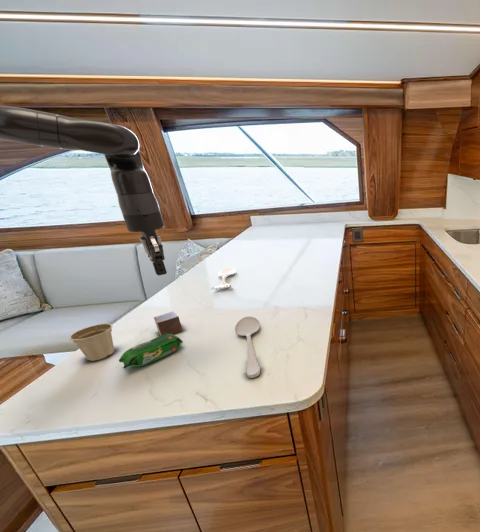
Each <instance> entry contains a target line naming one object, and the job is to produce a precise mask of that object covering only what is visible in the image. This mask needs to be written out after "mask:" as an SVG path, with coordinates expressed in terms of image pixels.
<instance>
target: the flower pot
mask: <svg viewBox="0 0 480 532" xmlns="http://www.w3.org/2000/svg"><path fill="white" fill-rule="evenodd" d="M112 328H113V324H111V323H97V324H93V325H90V326H86V327H84V328H81V329H79V330H76V331H75V332H72V334H70V335H69V337H68V339H69V340H70V341H72V342H73V343H74V344H76V346H77V348H79V350H80V351H81V352H82V354H83V355H84V357H85V358H86V360H87V361H91V362H95V361H99V360H103V359H105V358H106V357H108V356H111V355H112V354H114V353H115V346H114V341H113V334H112V332H113V329H112Z"/></svg>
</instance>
